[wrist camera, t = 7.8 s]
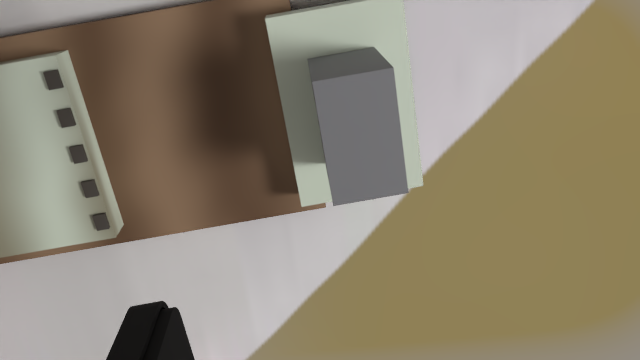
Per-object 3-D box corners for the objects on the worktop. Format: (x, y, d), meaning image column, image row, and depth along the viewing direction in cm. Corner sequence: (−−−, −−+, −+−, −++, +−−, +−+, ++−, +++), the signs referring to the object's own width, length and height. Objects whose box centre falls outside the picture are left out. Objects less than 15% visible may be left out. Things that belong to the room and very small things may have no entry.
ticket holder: (287, -14, 27) (286, -11, 25) (324, 199, 31) (328, 221, 29) (-133, 61, 28) (-175, 71, 25) (-42, 263, 32) (-70, 290, 29)
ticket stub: (396, -8, 27) (429, 3, 20) (416, 174, 30) (450, 231, 24) (266, 15, 27) (260, 33, 21) (300, 195, 30) (304, 256, 24)
